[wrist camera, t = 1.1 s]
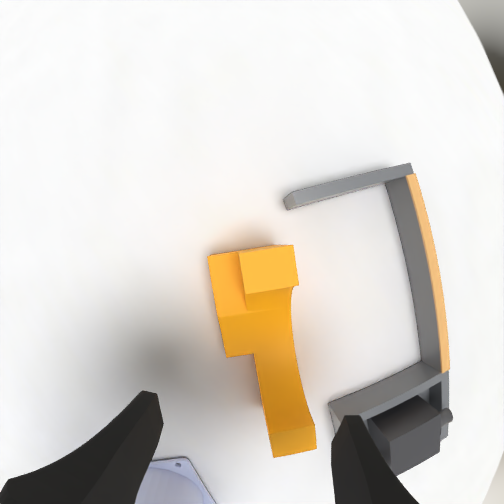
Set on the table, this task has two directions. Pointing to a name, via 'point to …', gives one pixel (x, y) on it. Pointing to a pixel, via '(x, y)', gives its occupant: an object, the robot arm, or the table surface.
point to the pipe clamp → (265, 336)
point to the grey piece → (429, 329)
